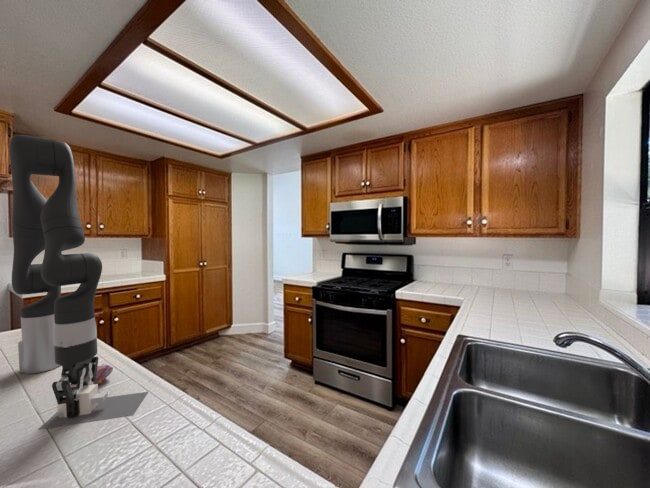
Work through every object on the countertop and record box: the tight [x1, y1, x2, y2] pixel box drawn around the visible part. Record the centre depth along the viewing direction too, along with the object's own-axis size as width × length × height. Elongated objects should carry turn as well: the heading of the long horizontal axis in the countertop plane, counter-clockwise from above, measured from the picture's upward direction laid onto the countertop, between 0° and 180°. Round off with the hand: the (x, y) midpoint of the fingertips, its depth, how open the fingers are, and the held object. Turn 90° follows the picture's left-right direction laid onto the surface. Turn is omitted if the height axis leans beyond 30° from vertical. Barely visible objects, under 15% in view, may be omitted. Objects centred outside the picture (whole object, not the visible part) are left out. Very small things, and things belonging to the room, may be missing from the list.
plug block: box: [56, 384, 109, 418], centre depth 67 cm, size 9×4×5 cm, turn 105°
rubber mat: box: [38, 391, 149, 431], centre depth 67 cm, size 18×10×1 cm, turn 105°
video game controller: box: [70, 363, 114, 386], centre depth 78 cm, size 10×5×7 cm, turn 169°
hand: (79, 409), depth 67 cm, fingers closed on plug block, 4 cm apart
